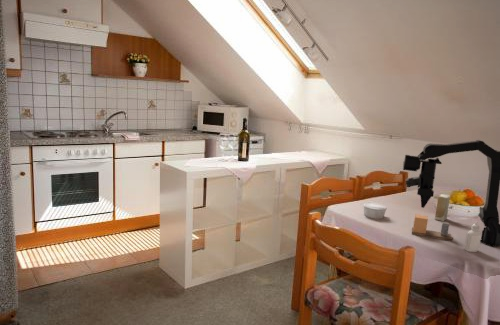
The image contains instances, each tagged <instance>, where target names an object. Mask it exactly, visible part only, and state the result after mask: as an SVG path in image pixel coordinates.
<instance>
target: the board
mask: <svg viewBox="0 0 500 325" xmlns="http://www.w3.org/2000/svg"><path fill="white" fill-rule="evenodd" d="M440 233H441V231H436V230H430V229H426V234H424V233H419V232H413V227H411V235H414V236H420V237H426V238H432V239H438V240H443V241H449V242H452V241H453V238H452V234H451V233H448V235H447V237H446V236H441V234H440Z"/></svg>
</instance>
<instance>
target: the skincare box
mask: <svg viewBox="0 0 500 325" xmlns="http://www.w3.org/2000/svg"><path fill="white" fill-rule="evenodd" d="M450 200H451V195H449V194H448V195H447V194H443V193H441V194H439V195H438V197H437V201H436V202H437V203H436V209H435V216H434V220H435V221H436V220H437V221H441V222H446V220H448V212H449V205H450Z"/></svg>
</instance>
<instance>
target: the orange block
mask: <svg viewBox="0 0 500 325" xmlns="http://www.w3.org/2000/svg"><path fill="white" fill-rule="evenodd" d="M428 219H429V217H428V215H424V214H423V215H422V214H417V213H415V214H414V221H413V232H419V233H424V234H426V230H427V228H428Z"/></svg>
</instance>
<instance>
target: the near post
mask: <svg viewBox="0 0 500 325" xmlns="http://www.w3.org/2000/svg"><path fill="white" fill-rule="evenodd" d="M449 227H450V223H449V222H446V221H441V228H440V232H441V233H440V234H441V236H446V237H447V235H448V234H449Z"/></svg>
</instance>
